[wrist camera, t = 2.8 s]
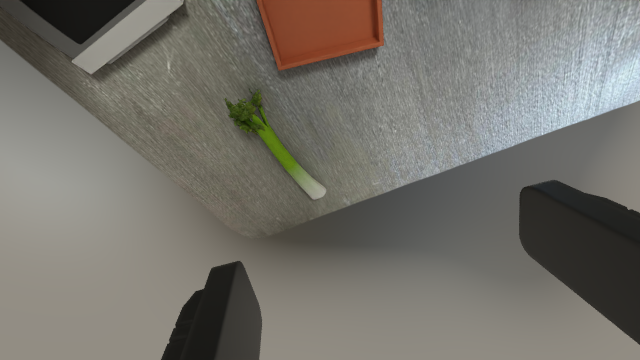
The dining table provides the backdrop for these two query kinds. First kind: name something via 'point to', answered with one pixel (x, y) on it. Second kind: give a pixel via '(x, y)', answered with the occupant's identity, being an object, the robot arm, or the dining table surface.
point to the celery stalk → (273, 142)
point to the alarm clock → (92, 25)
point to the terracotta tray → (320, 28)
